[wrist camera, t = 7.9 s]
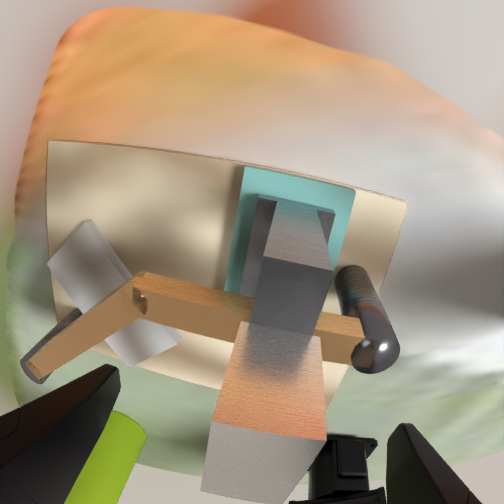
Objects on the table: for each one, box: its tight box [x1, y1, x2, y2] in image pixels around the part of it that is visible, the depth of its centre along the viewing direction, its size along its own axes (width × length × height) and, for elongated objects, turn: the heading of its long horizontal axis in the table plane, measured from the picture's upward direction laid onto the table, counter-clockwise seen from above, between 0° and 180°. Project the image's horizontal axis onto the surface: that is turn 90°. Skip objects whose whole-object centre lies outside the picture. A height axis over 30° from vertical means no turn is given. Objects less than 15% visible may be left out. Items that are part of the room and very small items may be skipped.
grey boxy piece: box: [201, 194, 336, 504], centre depth 12 cm, size 4×8×12 cm, turn 170°
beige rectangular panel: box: [47, 140, 408, 409], centre depth 21 cm, size 17×24×2 cm
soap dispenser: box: [64, 411, 146, 504], centre depth 20 cm, size 6×7×20 cm
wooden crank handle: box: [20, 265, 400, 384], centre depth 17 cm, size 6×23×7 cm, turn 104°
